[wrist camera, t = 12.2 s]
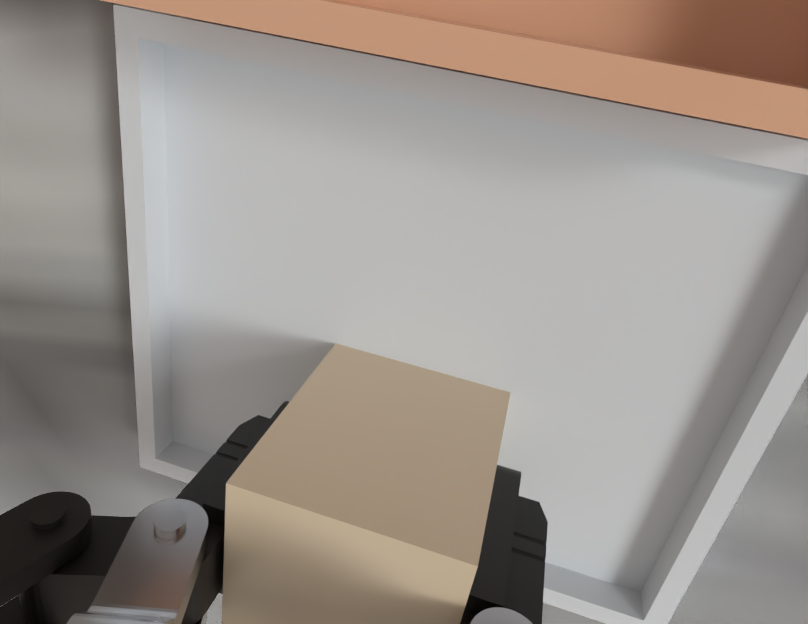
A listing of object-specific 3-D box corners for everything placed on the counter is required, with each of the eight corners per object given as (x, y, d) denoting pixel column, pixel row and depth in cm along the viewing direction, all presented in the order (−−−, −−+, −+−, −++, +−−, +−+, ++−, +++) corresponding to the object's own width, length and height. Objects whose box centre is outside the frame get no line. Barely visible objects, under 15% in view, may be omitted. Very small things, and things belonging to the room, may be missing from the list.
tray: (889, 150, 10) (925, 163, 9) (652, 599, 15) (658, 641, 14) (153, 7, 12) (113, 4, 11) (166, 440, 18) (140, 467, 16)
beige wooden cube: (510, 392, 13) (477, 566, 9) (471, 525, 15) (428, 723, 11) (335, 343, 14) (225, 483, 10) (319, 476, 16) (221, 644, 12)
